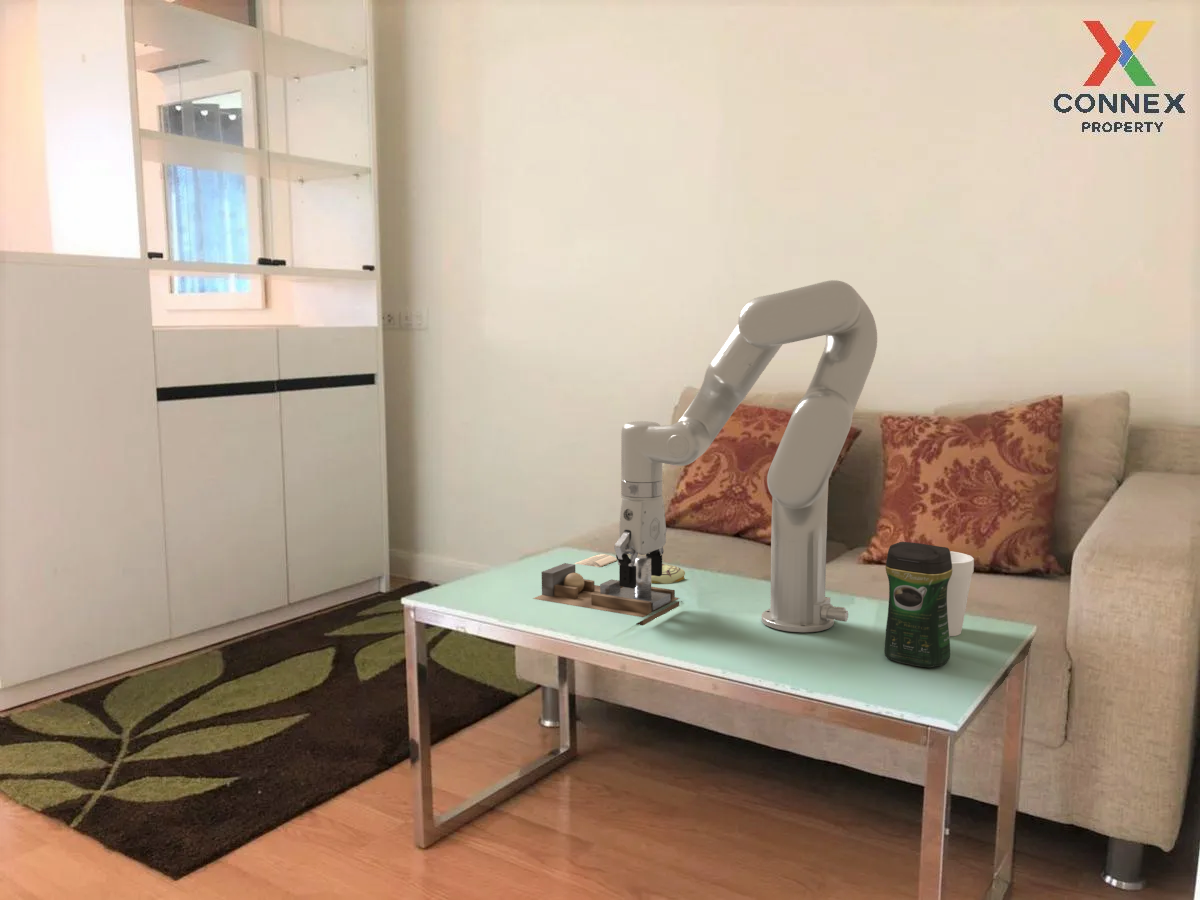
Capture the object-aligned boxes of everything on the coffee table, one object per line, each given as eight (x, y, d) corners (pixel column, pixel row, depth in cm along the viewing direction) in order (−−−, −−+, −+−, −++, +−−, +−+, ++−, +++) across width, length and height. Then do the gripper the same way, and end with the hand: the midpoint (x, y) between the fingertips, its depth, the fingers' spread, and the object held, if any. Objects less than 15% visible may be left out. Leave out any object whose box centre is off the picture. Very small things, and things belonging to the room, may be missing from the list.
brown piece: (679, 605, 185) (679, 574, 184) (643, 625, 173) (642, 592, 172) (573, 589, 197) (573, 560, 197) (532, 606, 186) (532, 575, 185)
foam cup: (901, 626, 171) (903, 553, 169) (944, 619, 174) (946, 548, 173) (938, 642, 162) (941, 565, 161) (982, 635, 165) (985, 560, 164)
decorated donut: (674, 594, 194) (674, 575, 193) (624, 588, 198) (624, 570, 198) (691, 581, 203) (691, 563, 203) (643, 576, 208) (643, 559, 207)
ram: (670, 601, 182) (670, 556, 181) (652, 610, 176) (652, 564, 175) (615, 593, 188) (614, 549, 187) (596, 601, 182) (595, 556, 181)
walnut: (588, 592, 190) (588, 571, 189) (577, 597, 186) (576, 576, 186) (571, 589, 192) (571, 569, 191) (559, 594, 188) (559, 573, 188)
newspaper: (595, 560, 225) (595, 552, 224) (621, 564, 221) (621, 556, 221) (533, 583, 205) (533, 575, 205) (561, 588, 201) (561, 579, 201)
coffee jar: (956, 659, 154) (960, 543, 151) (936, 673, 148) (940, 553, 145) (897, 646, 160) (901, 535, 158) (876, 659, 154) (879, 544, 152)
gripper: (635, 498, 169) (635, 594, 171) (681, 484, 183) (680, 573, 186) (599, 494, 173) (599, 588, 175) (646, 481, 187) (646, 568, 190)
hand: (641, 580), depth 180 cm, fingers open, 9 cm apart
